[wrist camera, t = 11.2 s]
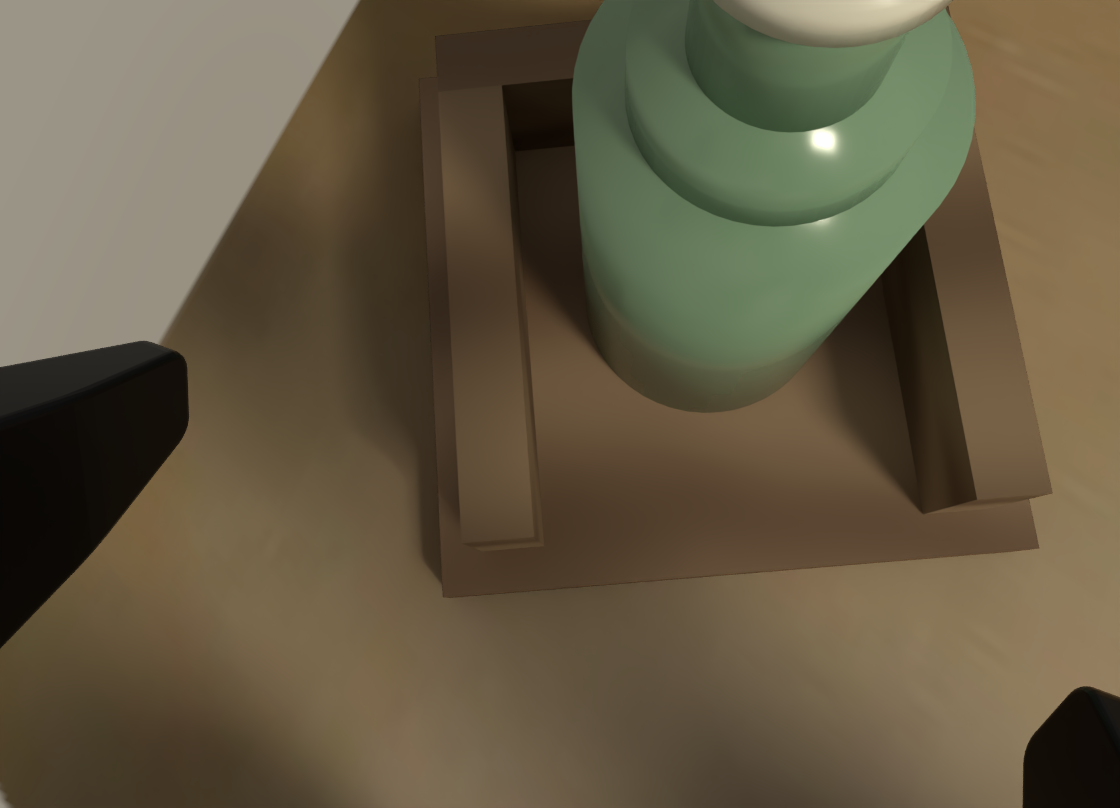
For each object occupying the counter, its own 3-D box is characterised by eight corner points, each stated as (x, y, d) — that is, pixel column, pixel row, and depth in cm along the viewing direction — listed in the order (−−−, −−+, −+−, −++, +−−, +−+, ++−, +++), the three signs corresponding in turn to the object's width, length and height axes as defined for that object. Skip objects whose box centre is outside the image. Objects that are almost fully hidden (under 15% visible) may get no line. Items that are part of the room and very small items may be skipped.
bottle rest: (1014, 551, 21) (1114, 538, 17) (451, 597, 21) (415, 596, 17) (915, 54, 24) (978, -57, 20) (427, 103, 25) (392, 4, 20)
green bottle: (841, 399, 21) (1211, 90, 8) (598, 424, 21) (586, 159, 8) (803, 177, 22) (1069, -387, 9) (574, 202, 22) (534, -317, 10)
